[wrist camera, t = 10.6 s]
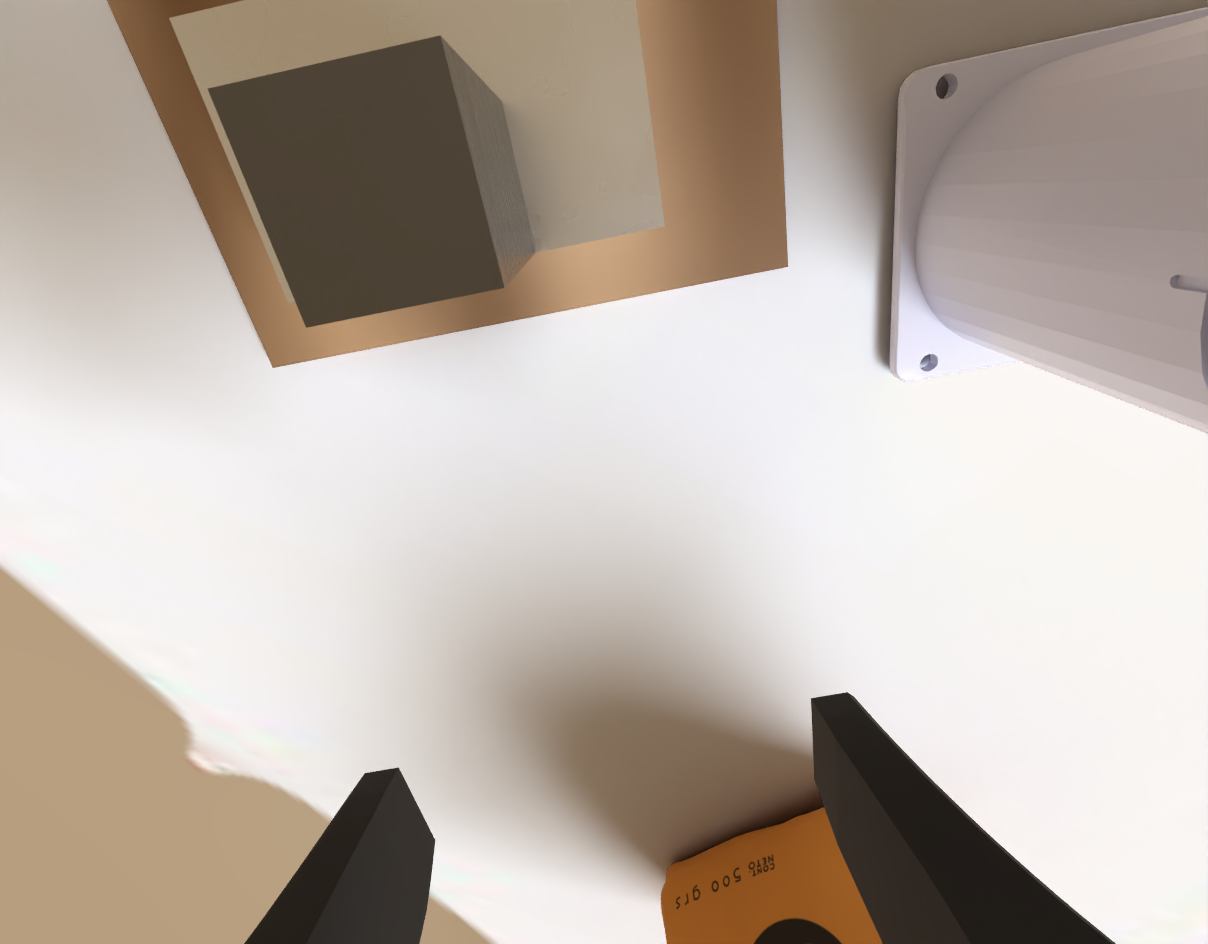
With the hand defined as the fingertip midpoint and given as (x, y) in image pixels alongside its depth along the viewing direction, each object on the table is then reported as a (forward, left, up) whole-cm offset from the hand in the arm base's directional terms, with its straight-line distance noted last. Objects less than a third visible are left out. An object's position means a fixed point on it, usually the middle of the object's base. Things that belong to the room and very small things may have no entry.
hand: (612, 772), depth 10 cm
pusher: (+2, -11, -10) cm, 15 cm away
